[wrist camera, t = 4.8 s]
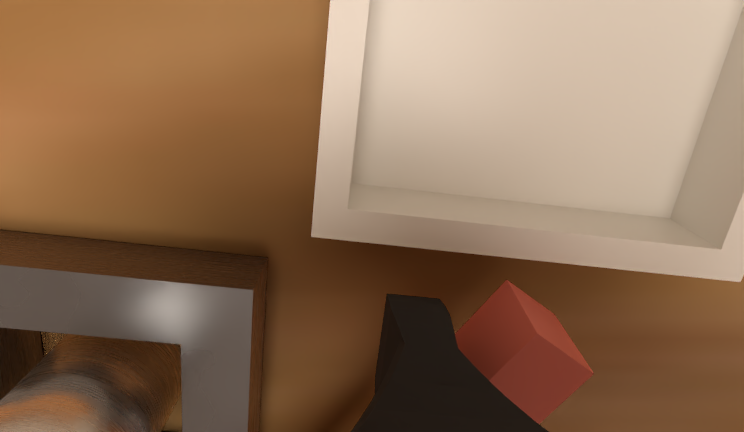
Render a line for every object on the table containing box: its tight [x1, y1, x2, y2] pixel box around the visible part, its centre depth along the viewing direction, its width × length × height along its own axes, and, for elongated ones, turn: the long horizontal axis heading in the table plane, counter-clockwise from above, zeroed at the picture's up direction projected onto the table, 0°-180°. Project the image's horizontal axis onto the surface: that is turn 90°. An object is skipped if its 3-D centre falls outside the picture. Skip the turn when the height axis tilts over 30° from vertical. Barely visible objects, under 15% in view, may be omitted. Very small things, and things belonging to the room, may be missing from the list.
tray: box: [311, 0, 744, 282], centre depth 10 cm, size 9×9×2 cm
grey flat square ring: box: [0, 230, 268, 432], centre depth 14 cm, size 8×8×2 cm
